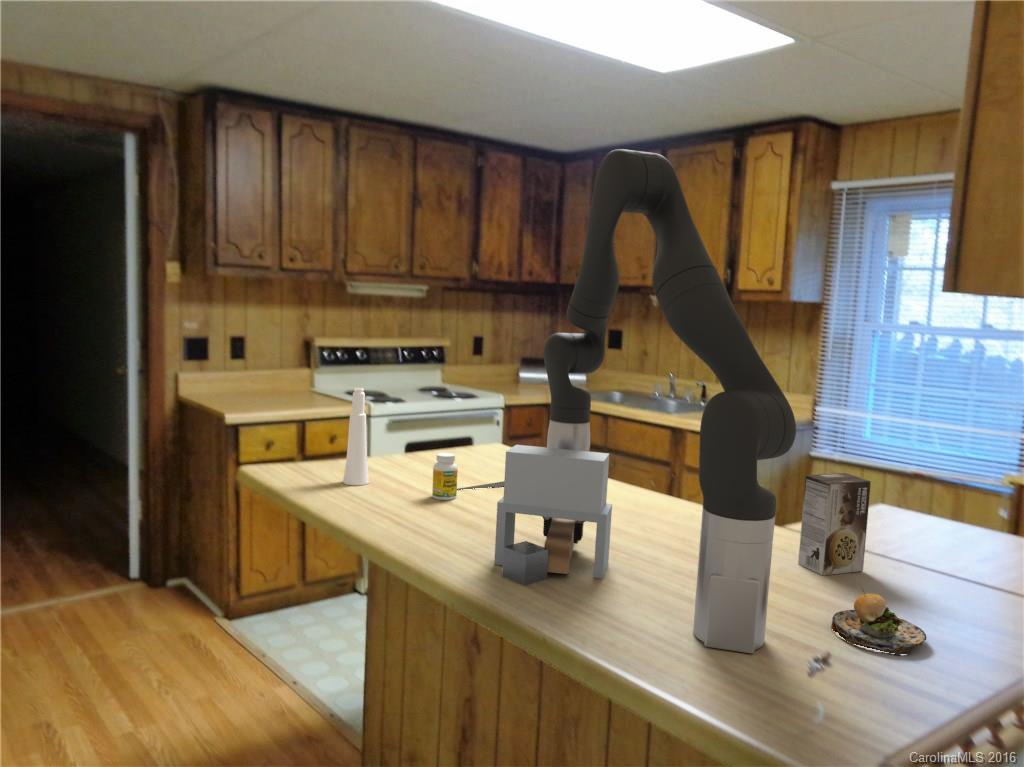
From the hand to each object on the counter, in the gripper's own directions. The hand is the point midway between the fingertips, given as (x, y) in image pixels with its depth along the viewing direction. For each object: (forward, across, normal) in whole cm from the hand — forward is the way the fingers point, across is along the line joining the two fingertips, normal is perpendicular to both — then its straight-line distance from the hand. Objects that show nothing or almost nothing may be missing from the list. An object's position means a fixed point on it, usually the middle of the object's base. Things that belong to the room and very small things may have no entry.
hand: (562, 540), depth 138 cm
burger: (+2, +48, -21) cm, 52 cm away
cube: (+2, -3, -17) cm, 18 cm away
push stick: (+1, 0, -4) cm, 4 cm away
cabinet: (+1, 0, -10) cm, 10 cm away
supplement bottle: (+2, -31, +25) cm, 40 cm away
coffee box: (+2, +46, +8) cm, 47 cm away
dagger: (+2, -22, +43) cm, 48 cm away
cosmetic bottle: (+2, -54, +29) cm, 61 cm away
